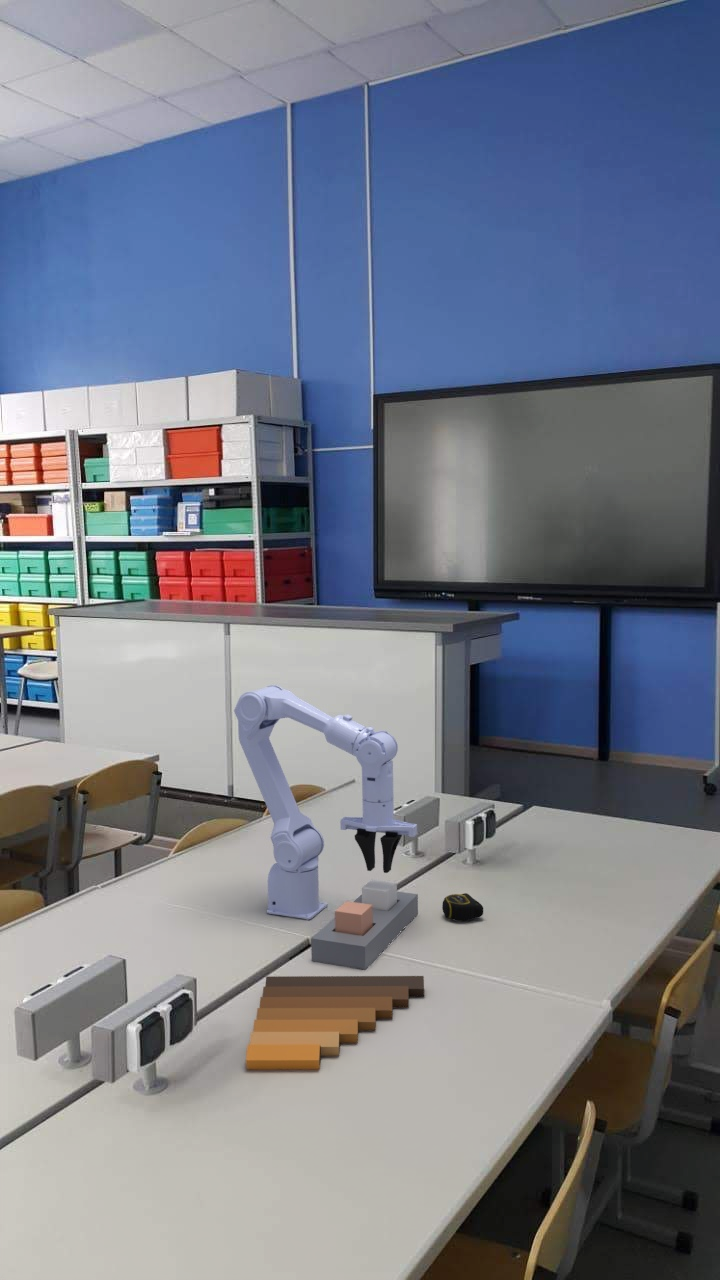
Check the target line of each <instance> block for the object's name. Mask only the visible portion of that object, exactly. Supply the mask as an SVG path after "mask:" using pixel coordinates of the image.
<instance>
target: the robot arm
mask: <svg viewBox="0 0 720 1280" xmlns="http://www.w3.org/2000/svg"><path fill="white" fill-rule="evenodd" d="M233 712H234V715H235V716H236V719H237V724H238V725H237V726H238V741H239V744H240V746H241V748H242V751H243V753H244V755H245V758H246V761H247V763H248V765H249V767H250V769H251V772H252V775H253V777H254V780H255V782H256V784H257V787H258V789H259V790H260V794H261V795H262V799H263V800H264V803H265V806H266V808H267V810H268V812H269V815H270V817H271V820H272V822H273V828H272V831H271V834H270V840H271V842H272V846H273V848H272V849H273V858H274V860H275V862H276V863H273V864H272V866H271V868H270V869H269V872H268V876H267V898H268V899H267V901H268V902H267V903H268V905H267V907H268V909H267V910H266V914H269V915H276V916H284V917H290V918H298V919H303V920H312V918H314V917H315V916H316V915H318V914H319V913H320V912H321V911H322V910H323V909H325V908H327V906H328V903H327V902H322V901H320V893H319V892H320V889H319V856H320V855H321V853H322V852H323V851H324V848H325V840H324V836H323V835H322V833H321V832H320V830H318V828H317V827H315V825H314V824H313V822H312V819H311V818H310V817H309V816H308V815H305V814H304V813H302V812H301V811H300V808H299V806H298V804H297V802H296V799H295V797H294V794H293V792H292V789H291V787H290V784H289V783H288V780H287V778H286V775H285V773H284V771H283V768H282V766H281V764H280V761H279V759H278V757H277V754H276V752H275V750H274V747H273V744H272V743H271V740H270V736H271V735H272V732H273V729H274V727H275V725H276V724H277V723H278V722H279V720H280V719H285V718H286V719H287V718H289V719H291V720H293V721H295V722H297V723H300V724H302V725H304V726H307V727H308V728H312V729H314V730H316V731H317V732H320V733H323V734H324V737H325V740H326V742H327V743H328V744H331V745H333V746H335V747H336V748H338V749H340V750H342V751H345V752H346V753H348V754H350V755H352V756H354V757H356V760H357V762H358V763H359V765H360V767H361V787H362V792H361V793H362V817H361V816H360V817H359V816H357V817H356V816H355V817H354V816H350V817H349V816H343V818H341V819H339V820H340V830H342V831H343V830H344V831H346V830H353V831H354V830H355V831H356V834H354V840H355V841H356V844H357V846H359V849H360V851H361V853H362V856H363V858H364V863H365V867H366V870H367V871H369V872H372V871H373V870H374V869H375V868H376V849H375V847H376V837H377V833H382V834H385V835H382V836H381V837H380V843H381V848H382V870H383V873H384V874H387V873H389V872H390V871H391V870H392V865H393V860H394V856H395V853H396V850H397V848H398V845H399V843H400V841H401V839H402V837H403V836H408V837H409V838H415V837H416V836H417V835H418V824H417V823H410V822H407V821H402V820H398V819H395V817H394V816H395V815H394V809H395V807H394V761H393V759H395V757H396V756H397V755H398V754H397V753H398V751H399V749H398V748H399V747H398V743H397V740H396V738H395V737H394V736H393V735H392V734H391V733H390V732H388V731H387V730H378V731H375V728H374V727H371V726H368V727H366V726H365V725H363V724H361V723H360V722H359V723H358V722H357V721H355V720H353V716H352V715H351V714H348V713H347V714H344V715H343V714H338V715H336V716H334V717H333V716H331V715H330V714H328V713H325V712H324V711H323V710H321V709H318V708H317V707H316V706H314V705H312V704H310V703H308V702H306V701H305V700H303V699H301V698H299V697H298V696H296V695H295V694H294V693H293V692H292V691H291V690H288V689H284V688H283V687H282V686H279V685H277V684H271V685H268V686H266V687H263V688H259V689H255V690H250V691H245V692H244V693H242V694H241V695H240V697H239V698H238V699H237V703H236V705H235V707H234V710H233Z"/></svg>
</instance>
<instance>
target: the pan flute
mask: <svg viewBox="0 0 720 1280" xmlns="http://www.w3.org/2000/svg"><path fill="white" fill-rule="evenodd" d="M424 979H425V977H424V975H373V976H372V975H349V976H348V975H346V976H345V975H342V976H341V975H336V976H335V975H334V976H333V975H332V976H330V975H329V976H327V975H325V976H324V975H321V976H320V975H317V976H315V975H313V976H309V975H308V976H306V975H304V976H303V975H300V976H299V975H298V976H295V975H294V976H293V975H292V976H290V975H288V976H287V975H286V976H282V975H281V976H277V975H275V976H265V986H263V987H262V988H263V990H262V996H261V997H260V999H259V1007H258V1008H256V1019H253V1031H250V1037H249V1038H250V1040H249V1044H247V1045H246V1056H245V1065H246V1070H321V1063H322V1057H323V1056H324V1057H325V1056H326V1057H327V1056H331V1057H333V1056H335V1057H336V1056H340V1053H341V1050H340V1049H341V1044H343V1043H344V1044H351V1043H352V1044H353V1043H354V1044H355V1043H359V1031H376V1029H377V1025H376V1024H377V1022H376V1019H378V1020H380V1019H381V1020H382V1019H383V1020H384V1019H385V1020H389V1019H391V1020H392V1019H393V1008H409V1006H410V1005H409V1003H410V1002H409V999H410V997H411V998H412V997H414V998H415V997H417V998H422V997H425V980H424Z"/></svg>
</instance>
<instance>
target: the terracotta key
mask: <svg viewBox="0 0 720 1280" xmlns="http://www.w3.org/2000/svg"><path fill="white" fill-rule="evenodd" d="M334 918H335V932H340V933H347V934H353V935H360V936H364V935H365V934H366V933H367V932H368V931H369V930H370V929H371V928H372V927H373V906H372V905H371V904H363V903H356V902H354V901H348V900H346V901H345V902H344V903H343V904H342V905H340V906H339V907H338V908H337V909H335V910H334Z"/></svg>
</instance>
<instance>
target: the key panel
mask: <svg viewBox="0 0 720 1280" xmlns="http://www.w3.org/2000/svg"><path fill="white" fill-rule="evenodd" d="M418 899H419V895H418V893H411V892H403V891H397V904H396V905H395V906H394V907H393V908H392V909H391V910H390V911H383V910H376V909H373V927H372V928H371V929H370V930H369V931H368V932H367V933H366V934H365V935H364V936H360V935H353V934H347V933H340V932H335V917H334V918H333V919H331V920H330V921H329V922H328V923H327V924H326V925H324V927H322V929H320V930H319V931H318V932H316V933H315V934H314V935H313V936H312V937H311V938H310V945H311V946H310V949H311V950H310V951H311V961H312V962H318V963H323V964H324V963H325V964H329V965H334V966H335V965H336V966H342V967H347V968H354V969H358V970H360V969H361V970H367V969H368V968H369V967H370V966H371V965H372V964H373V963H374V961H375V960H376V959H377V958H378V957H379V956H380V955H381V954H382V953H383V952H384V951H385V950H386V949H387V948H386V947H387V946H388V945H390V944H391V943H392V942H393V941H394V940H395V939H396V938H397V937H398V936H399V935H400V934H401V933H400V931H402V929H403V928H404V927H405V926H406V925H407V926H409V924H410V923H411V922H412V921H413V920H414V919H415V918H416V917H417V916H418V915H419V900H418ZM353 902H356V903H362V894H361V895H359V896H358V897H357V898H355V900H354V901H353ZM417 914H418V915H417ZM416 915H417V916H416ZM415 916H416V917H415ZM414 917H415V918H414ZM413 918H414V919H413ZM412 919H413V920H412ZM411 920H412V921H411ZM410 921H411V922H410ZM409 922H410V923H409ZM408 923H409V924H408ZM402 932H403V931H402ZM399 933H400V934H399ZM398 934H399V935H398ZM397 935H398V936H397ZM396 936H397V937H396ZM395 937H396V938H395ZM394 938H395V939H394ZM393 939H394V940H393ZM392 940H393V941H392ZM391 941H392V942H391ZM390 942H391V943H390ZM389 943H390V944H389ZM388 947H389V946H388ZM385 948H386V949H385ZM384 949H385V950H384ZM383 950H384V951H383ZM382 951H383V952H382ZM381 952H382V953H381ZM380 953H381V954H380ZM379 954H380V955H379ZM378 955H379V956H378ZM377 956H378V957H377ZM369 965H370V966H369ZM368 966H369V967H368Z"/></svg>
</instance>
